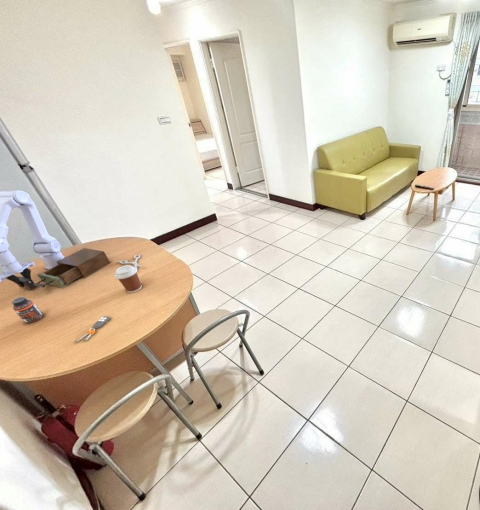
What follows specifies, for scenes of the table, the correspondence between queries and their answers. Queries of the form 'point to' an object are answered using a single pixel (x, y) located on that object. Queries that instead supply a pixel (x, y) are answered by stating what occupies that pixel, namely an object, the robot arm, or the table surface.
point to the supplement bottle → (26, 310)
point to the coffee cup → (128, 278)
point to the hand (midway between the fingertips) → (26, 284)
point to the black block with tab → (27, 282)
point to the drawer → (58, 276)
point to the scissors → (132, 262)
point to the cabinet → (86, 261)
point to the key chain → (96, 326)
